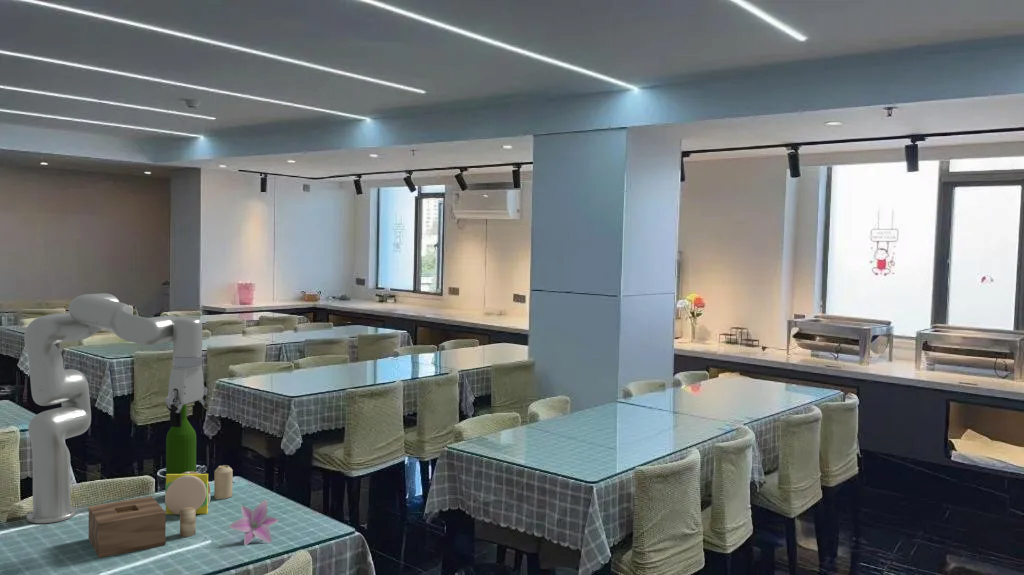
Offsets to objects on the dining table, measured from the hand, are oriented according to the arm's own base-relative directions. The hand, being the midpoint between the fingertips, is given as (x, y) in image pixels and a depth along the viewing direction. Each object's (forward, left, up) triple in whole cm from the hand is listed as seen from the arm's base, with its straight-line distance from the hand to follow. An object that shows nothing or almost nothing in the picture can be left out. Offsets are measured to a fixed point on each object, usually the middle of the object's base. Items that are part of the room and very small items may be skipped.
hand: (187, 422), depth 214 cm
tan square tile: (-1, -15, -24) cm, 29 cm away
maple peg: (+2, 0, -31) cm, 31 cm away
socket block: (-1, -15, -31) cm, 35 cm away
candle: (-26, +18, -31) cm, 45 cm away
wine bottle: (-34, +7, -31) cm, 47 cm away
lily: (+16, +14, -32) cm, 38 cm away
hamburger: (-17, +5, -31) cm, 36 cm away
